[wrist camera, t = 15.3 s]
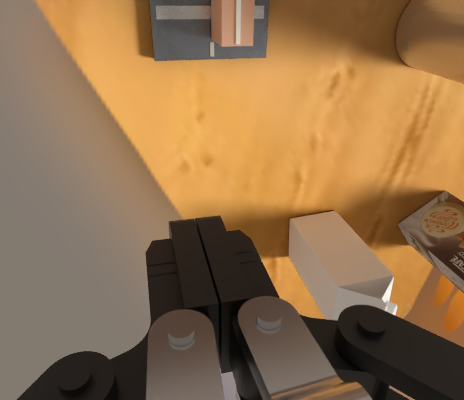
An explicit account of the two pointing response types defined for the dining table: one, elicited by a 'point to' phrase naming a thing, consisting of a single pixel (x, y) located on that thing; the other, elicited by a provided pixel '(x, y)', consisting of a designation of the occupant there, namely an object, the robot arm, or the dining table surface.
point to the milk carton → (338, 265)
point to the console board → (199, 31)
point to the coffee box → (439, 235)
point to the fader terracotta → (232, 22)
